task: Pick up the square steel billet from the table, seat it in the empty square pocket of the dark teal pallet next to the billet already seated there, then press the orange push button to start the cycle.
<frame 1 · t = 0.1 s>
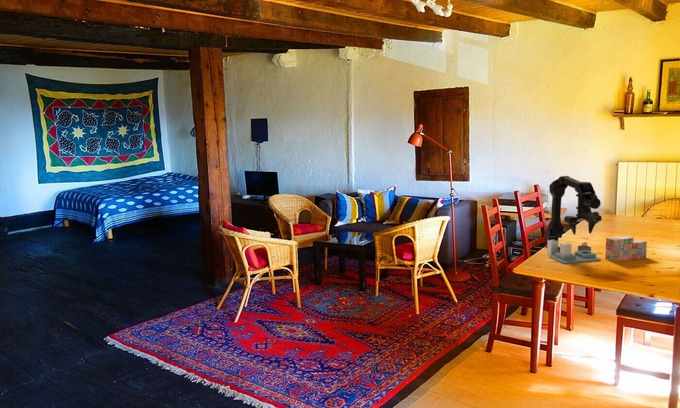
hand: (582, 234, 290), 15 cm above the table, tool pointing down, fingers open, 9 cm apart
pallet: (574, 258, 295), on the table
stack of blocks: (625, 258, 293), on the table
button housing: (584, 251, 309), on the table
steel billet: (552, 254, 306), on the table
start button: (584, 244, 309), point 4 cm above the table, slide at 0.0 cm
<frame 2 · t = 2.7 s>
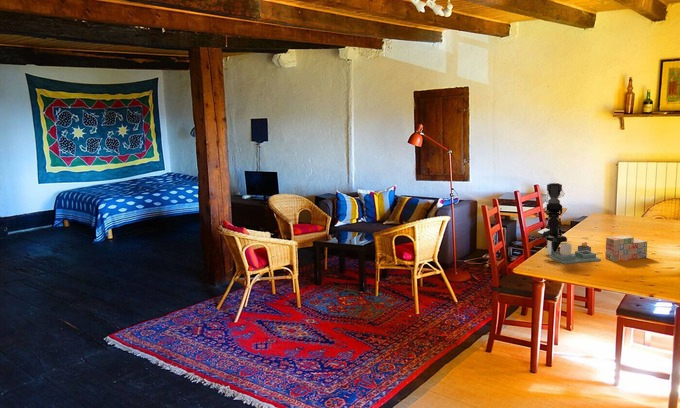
hand: (552, 250, 306), 2 cm above the table, tool pointing down, fingers closed on steel billet, 4 cm apart
steel billet: (552, 254, 306), on the table, touching gripper
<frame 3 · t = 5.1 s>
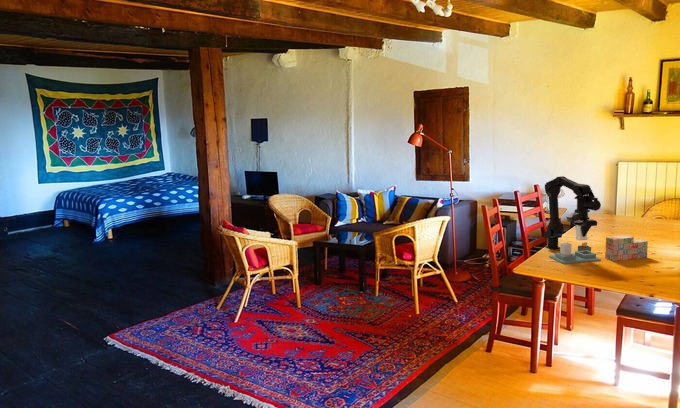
hand: (581, 235, 295), 12 cm above the table, tool pointing down, fingers closed on steel billet, 4 cm apart
steel billet: (581, 239, 296), point 10 cm above the table, touching gripper
when the fingers open (4 cm above the table, at t = 7.5 s): steel billet stays where it is, resting on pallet.
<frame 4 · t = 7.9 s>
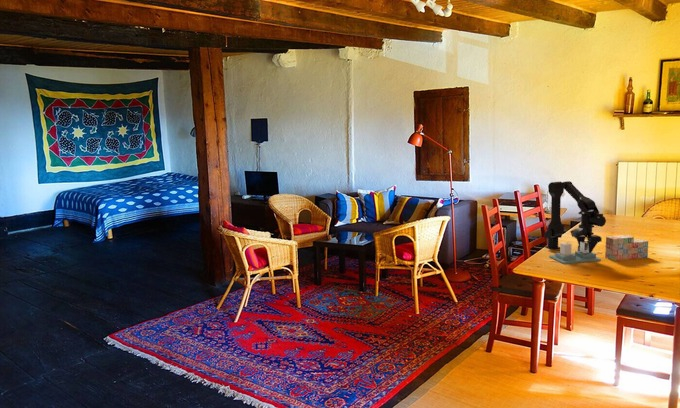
hand: (585, 250, 296), 4 cm above the table, tool pointing down, fingers open, 8 cm apart
steel billet: (585, 256, 296), point 1 cm above the table, touching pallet
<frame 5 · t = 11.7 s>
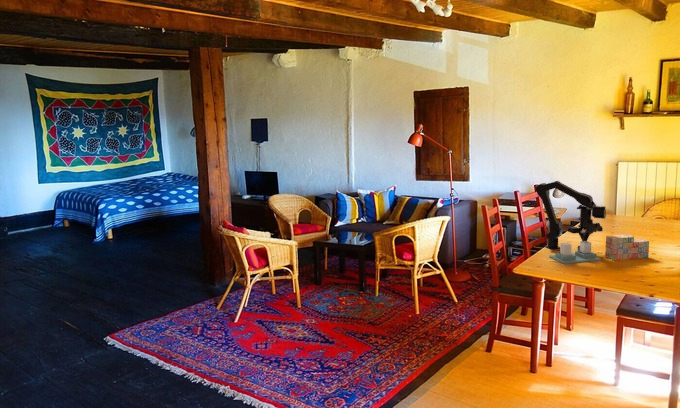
hand: (584, 243, 309), 5 cm above the table, tool pointing down, fingers closed, pressing on start button
start button: (584, 246, 309), point 3 cm above the table, slide at 0.8 cm, touching gripper
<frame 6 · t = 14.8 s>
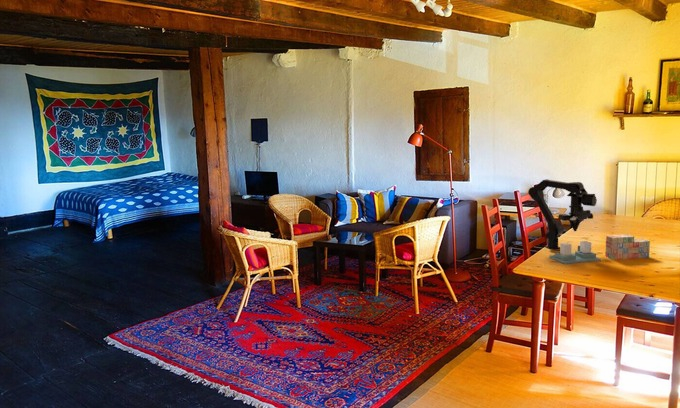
hand: (575, 231, 308), 12 cm above the table, tool pointing down, fingers closed
start button: (584, 246, 309), point 3 cm above the table, slide at 1.2 cm
at the end: steel billet 0.1 cm from the target spot on the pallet, point 1.0 cm above the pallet's base; steel billet tilted 0°; start button slide at 1.2 cm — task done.
